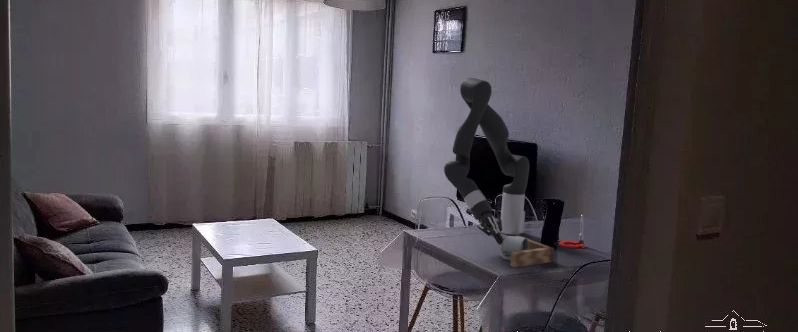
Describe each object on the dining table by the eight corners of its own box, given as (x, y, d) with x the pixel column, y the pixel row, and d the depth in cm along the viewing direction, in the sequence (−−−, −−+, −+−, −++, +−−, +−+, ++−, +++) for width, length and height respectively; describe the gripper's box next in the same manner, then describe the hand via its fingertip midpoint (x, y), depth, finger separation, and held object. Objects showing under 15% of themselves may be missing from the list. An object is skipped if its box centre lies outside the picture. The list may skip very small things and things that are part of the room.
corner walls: (516, 247, 234) (518, 235, 233) (552, 261, 218) (554, 248, 217) (479, 252, 224) (480, 239, 223) (514, 267, 208) (515, 253, 207)
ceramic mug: (507, 252, 227) (509, 232, 226) (528, 256, 223) (529, 236, 221) (495, 258, 218) (497, 238, 217) (517, 263, 214) (518, 242, 213)
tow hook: (561, 248, 238) (585, 249, 238) (563, 216, 237) (587, 217, 236) (557, 243, 247) (580, 243, 246) (558, 212, 245) (581, 212, 245)
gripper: (482, 208, 236) (505, 246, 230) (461, 212, 227) (485, 251, 220) (494, 197, 232) (518, 235, 225) (473, 201, 222) (498, 240, 216)
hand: (502, 243), depth 223 cm, fingers closed
